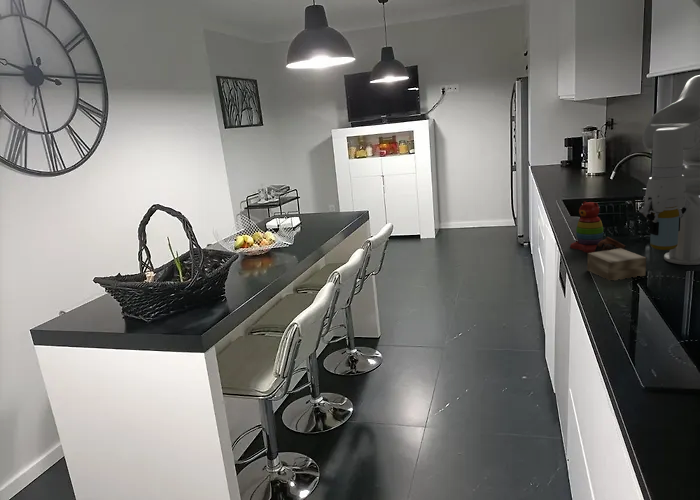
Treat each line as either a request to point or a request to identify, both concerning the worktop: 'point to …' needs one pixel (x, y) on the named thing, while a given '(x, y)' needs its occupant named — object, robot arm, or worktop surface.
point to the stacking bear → (588, 228)
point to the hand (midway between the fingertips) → (664, 231)
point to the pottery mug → (609, 245)
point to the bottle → (667, 227)
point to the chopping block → (616, 264)
